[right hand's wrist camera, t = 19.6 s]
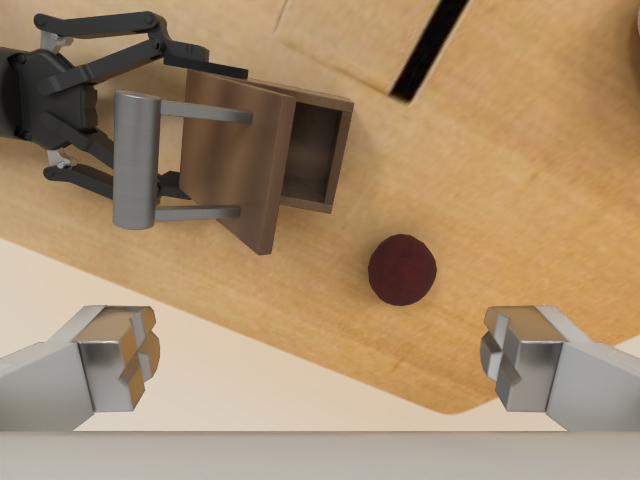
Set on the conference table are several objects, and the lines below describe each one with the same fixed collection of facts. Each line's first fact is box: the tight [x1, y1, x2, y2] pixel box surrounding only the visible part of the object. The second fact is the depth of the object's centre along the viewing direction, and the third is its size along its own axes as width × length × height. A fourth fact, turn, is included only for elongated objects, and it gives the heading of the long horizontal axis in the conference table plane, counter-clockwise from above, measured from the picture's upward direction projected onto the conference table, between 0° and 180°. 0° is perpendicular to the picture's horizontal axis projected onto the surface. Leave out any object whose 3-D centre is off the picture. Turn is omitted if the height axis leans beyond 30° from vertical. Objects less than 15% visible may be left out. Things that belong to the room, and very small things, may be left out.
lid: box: [113, 69, 296, 255], centre depth 27 cm, size 14×10×8 cm
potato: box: [368, 234, 437, 306], centre depth 45 cm, size 7×8×7 cm
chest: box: [196, 70, 354, 214], centre depth 39 cm, size 13×10×10 cm
